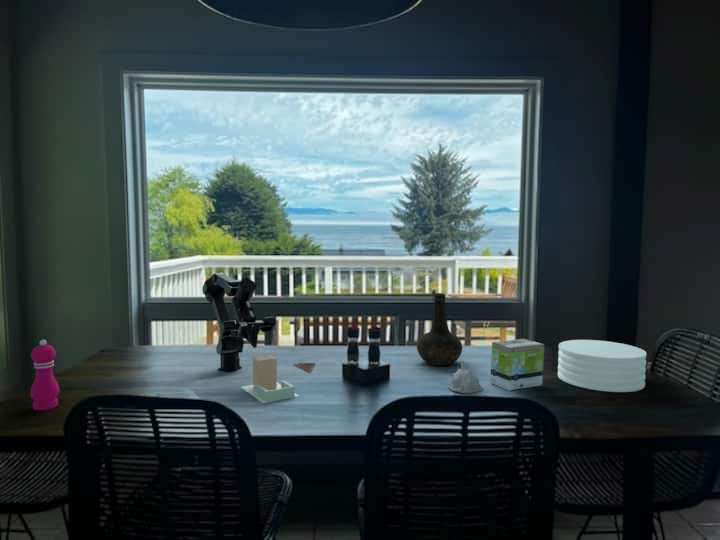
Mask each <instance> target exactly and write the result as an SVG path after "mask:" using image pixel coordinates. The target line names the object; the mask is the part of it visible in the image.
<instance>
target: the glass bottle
mask: <svg viewBox="0 0 720 540" xmlns="http://www.w3.org/2000/svg"><path fill="white" fill-rule="evenodd" d="M431 300H433V314H432V323H431V329H430V331H427V332H425V333H424V334H422V335H421V336H420V337H419V338H418V340H417V343H416V350H417V353H418V355H419V357H420V358H421V359H422V360H423V361H424V362H425V363H427V364H429V365H432V366H449V365H451V364H453V363H456V362H457V361H458V360H459V359H460V357H461V355H462V354H463V352H462V351H463V343H462V342H461V339H460V338H459V337H458V336H457V335H456V334H455V333H452V332H451V331H450V329H449V326H448V325H449V324H448V319H447V309H446V300H447V297H446V294H445V293H442V292H439V293H438V292H435V293H434V294H433V297H432V298H431Z"/></svg>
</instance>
